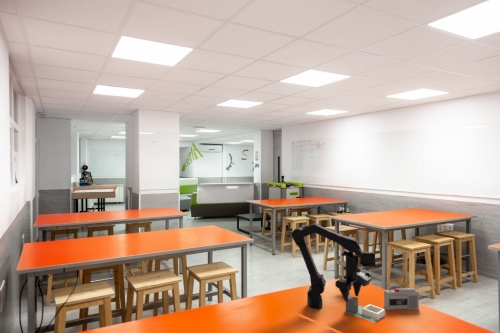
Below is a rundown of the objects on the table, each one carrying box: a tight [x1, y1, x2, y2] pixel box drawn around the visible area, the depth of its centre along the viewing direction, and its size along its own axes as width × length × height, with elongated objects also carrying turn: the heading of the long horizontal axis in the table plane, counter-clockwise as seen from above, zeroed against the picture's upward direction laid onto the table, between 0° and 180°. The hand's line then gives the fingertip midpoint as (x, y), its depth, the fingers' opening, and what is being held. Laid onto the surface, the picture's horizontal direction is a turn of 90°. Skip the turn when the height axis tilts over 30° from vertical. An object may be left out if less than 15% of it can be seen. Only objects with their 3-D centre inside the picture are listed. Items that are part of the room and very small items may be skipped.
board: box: [343, 304, 387, 324], centre depth 147 cm, size 15×11×1 cm
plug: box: [345, 295, 359, 314], centre depth 149 cm, size 4×4×6 cm
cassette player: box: [383, 287, 420, 311], centre depth 152 cm, size 16×3×10 cm, turn 94°
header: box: [362, 303, 386, 321], centre depth 146 cm, size 8×7×3 cm
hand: (351, 298), depth 149 cm, fingers open, 9 cm apart
